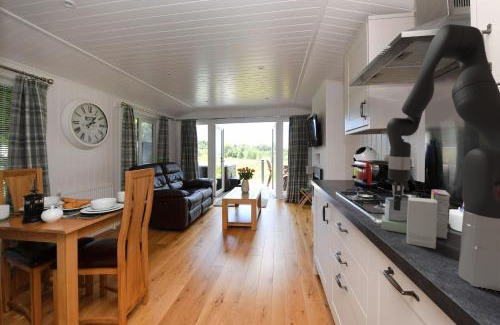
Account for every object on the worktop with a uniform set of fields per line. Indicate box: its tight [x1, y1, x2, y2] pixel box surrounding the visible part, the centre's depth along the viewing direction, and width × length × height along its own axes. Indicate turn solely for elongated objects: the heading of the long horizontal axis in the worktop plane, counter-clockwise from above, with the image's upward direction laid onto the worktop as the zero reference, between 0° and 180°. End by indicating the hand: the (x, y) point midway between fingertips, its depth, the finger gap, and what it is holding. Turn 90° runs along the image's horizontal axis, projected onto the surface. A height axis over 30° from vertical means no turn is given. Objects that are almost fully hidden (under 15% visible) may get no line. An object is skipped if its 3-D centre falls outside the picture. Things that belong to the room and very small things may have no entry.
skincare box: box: [406, 196, 438, 250], centre depth 82 cm, size 8×7×16 cm
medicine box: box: [384, 197, 408, 221], centre depth 97 cm, size 8×4×9 cm, turn 80°
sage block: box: [380, 214, 407, 235], centre depth 98 cm, size 10×10×4 cm
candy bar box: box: [430, 189, 451, 240], centre depth 92 cm, size 11×5×16 cm, turn 147°
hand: (396, 208), depth 97 cm, fingers open, 6 cm apart
